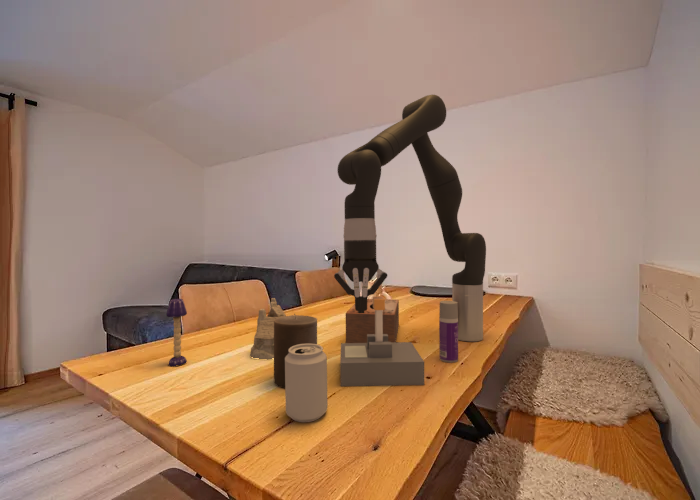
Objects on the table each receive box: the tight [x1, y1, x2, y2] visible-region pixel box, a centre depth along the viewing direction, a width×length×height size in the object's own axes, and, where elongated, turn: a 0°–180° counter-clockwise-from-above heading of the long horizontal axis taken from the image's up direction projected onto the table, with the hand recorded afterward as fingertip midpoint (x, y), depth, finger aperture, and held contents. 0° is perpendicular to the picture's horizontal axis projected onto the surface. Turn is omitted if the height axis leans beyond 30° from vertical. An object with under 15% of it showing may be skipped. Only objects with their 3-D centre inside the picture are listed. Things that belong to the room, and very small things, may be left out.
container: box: [438, 300, 459, 364], centre depth 86 cm, size 5×5×15 cm
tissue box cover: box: [345, 298, 400, 343], centre depth 110 cm, size 26×14×10 cm, turn 169°
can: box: [284, 343, 328, 423], centre depth 60 cm, size 8×8×12 cm
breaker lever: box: [372, 295, 386, 342], centre depth 78 cm, size 4×2×12 cm, turn 1°
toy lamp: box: [166, 298, 188, 367], centre depth 85 cm, size 5×5×17 cm
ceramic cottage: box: [249, 297, 304, 360], centre depth 95 cm, size 16×16×15 cm
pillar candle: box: [273, 313, 318, 389], centre depth 75 cm, size 10×10×15 cm
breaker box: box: [339, 334, 425, 387], centre depth 78 cm, size 14×18×8 cm
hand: (361, 312), depth 78 cm, fingers closed
